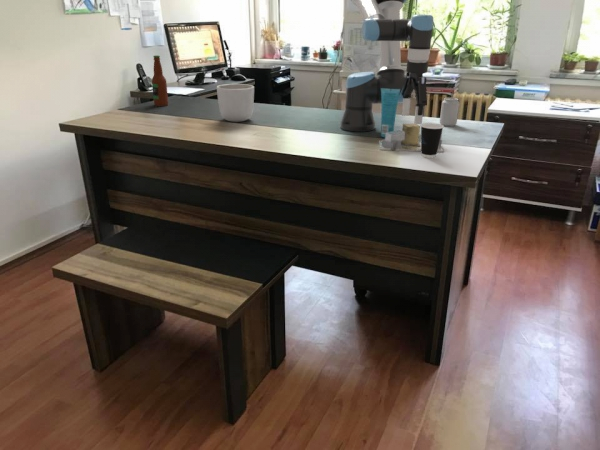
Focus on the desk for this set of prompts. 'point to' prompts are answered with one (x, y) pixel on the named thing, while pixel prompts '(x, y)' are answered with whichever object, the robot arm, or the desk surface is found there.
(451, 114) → the can
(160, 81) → the bottle
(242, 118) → the planter
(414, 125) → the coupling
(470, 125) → the desk surface
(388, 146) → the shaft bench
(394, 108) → the tube
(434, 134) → the dixie cup
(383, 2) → the robot arm
